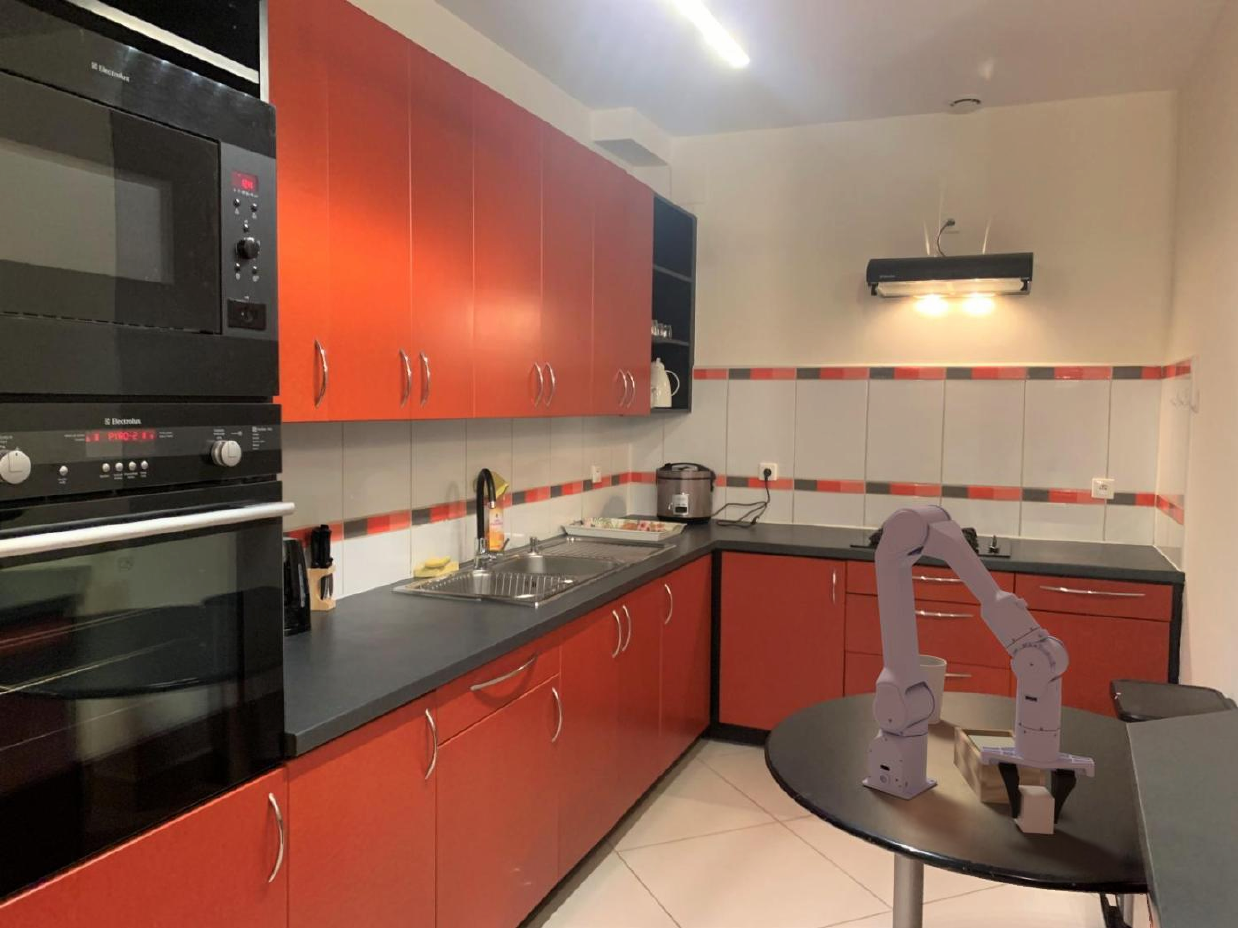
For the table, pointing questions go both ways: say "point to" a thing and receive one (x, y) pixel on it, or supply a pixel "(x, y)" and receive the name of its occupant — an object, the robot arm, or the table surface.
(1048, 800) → the pinkish beige block
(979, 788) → the box
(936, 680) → the cup
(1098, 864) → the table surface
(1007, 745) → the pale grey flat block
